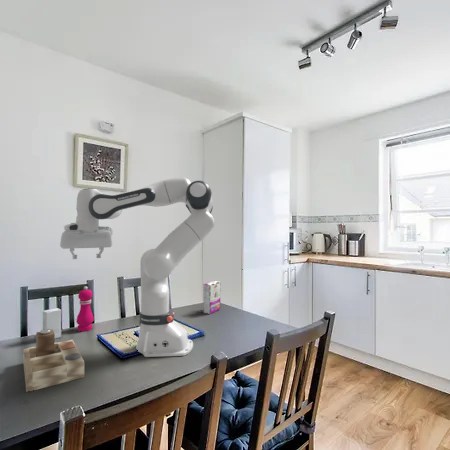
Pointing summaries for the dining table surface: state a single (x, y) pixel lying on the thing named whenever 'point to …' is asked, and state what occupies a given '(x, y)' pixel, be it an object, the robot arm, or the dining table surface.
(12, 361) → the dining table surface
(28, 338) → the dining table surface
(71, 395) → the dining table surface
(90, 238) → the robot arm
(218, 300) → the candy bar box
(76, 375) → the tag socket block
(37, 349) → the plug
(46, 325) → the skincare box
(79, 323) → the pepper mill
